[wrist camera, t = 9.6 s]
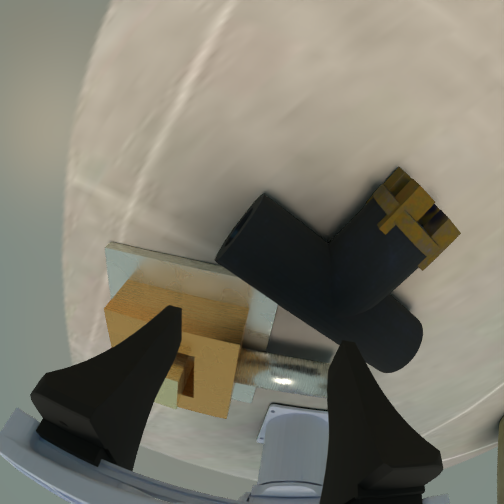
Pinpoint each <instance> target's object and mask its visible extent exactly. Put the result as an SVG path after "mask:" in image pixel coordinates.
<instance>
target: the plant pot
mask: <svg viewBox="0 0 504 504" xmlns="http://www.w3.org/2000/svg"><path fill="white" fill-rule="evenodd" d="M497 465H498V466H497V504H504V416H503V418H502V419H501V421H500V423H499V437H498V464H497Z"/></svg>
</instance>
